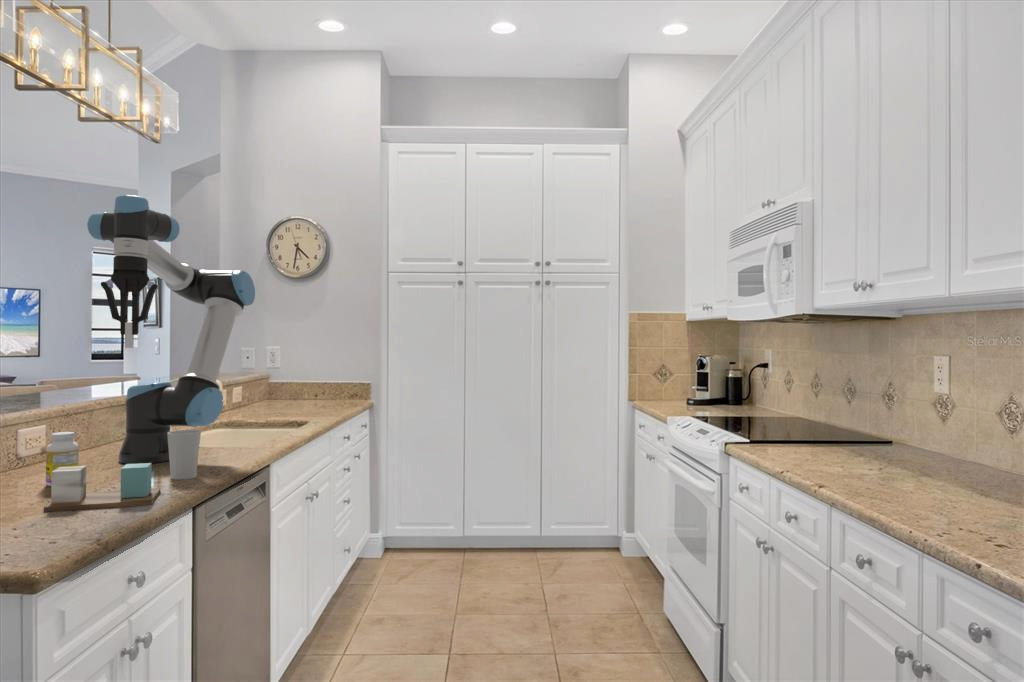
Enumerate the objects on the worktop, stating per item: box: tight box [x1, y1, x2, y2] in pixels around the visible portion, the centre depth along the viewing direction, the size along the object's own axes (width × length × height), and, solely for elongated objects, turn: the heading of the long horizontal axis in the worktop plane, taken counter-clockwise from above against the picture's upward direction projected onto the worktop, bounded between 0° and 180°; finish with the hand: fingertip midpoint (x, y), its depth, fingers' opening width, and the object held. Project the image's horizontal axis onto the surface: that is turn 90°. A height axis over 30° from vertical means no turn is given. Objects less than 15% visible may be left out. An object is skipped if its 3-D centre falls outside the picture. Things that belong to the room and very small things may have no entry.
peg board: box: [43, 465, 161, 513], centre depth 142 cm, size 12×20×8 cm, turn 111°
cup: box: [167, 429, 202, 481], centre depth 168 cm, size 8×8×12 cm
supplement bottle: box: [45, 431, 80, 487], centre depth 157 cm, size 7×7×13 cm
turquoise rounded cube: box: [120, 463, 153, 498], centre depth 144 cm, size 5×5×7 cm
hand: (129, 347), depth 162 cm, fingers closed
